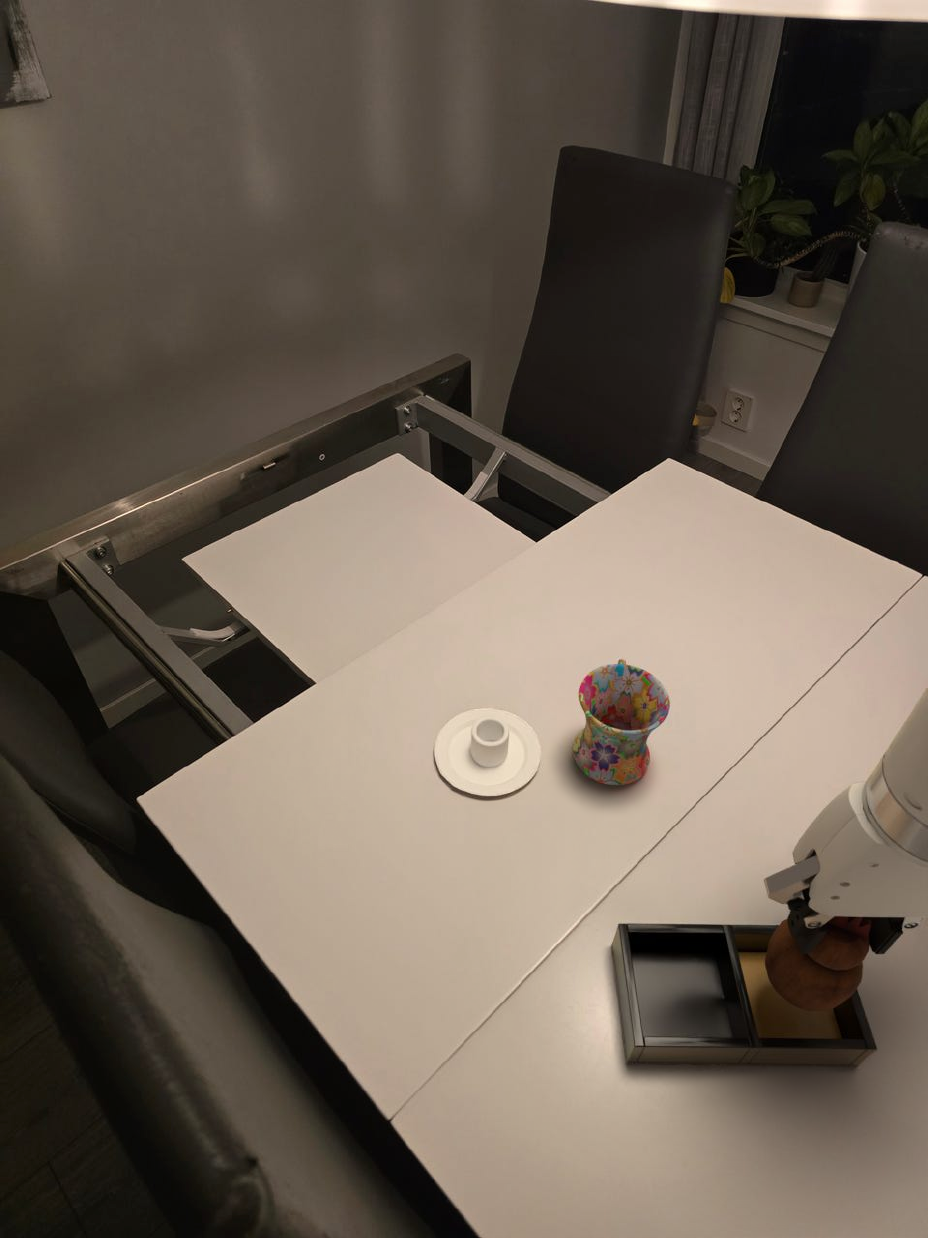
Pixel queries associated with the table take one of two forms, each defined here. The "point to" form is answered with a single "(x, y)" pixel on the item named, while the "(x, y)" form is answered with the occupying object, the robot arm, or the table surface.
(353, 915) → the table surface
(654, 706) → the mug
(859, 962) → the wooden figurine
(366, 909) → the table surface
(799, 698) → the table surface
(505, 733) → the candle holder
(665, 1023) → the divided tray
